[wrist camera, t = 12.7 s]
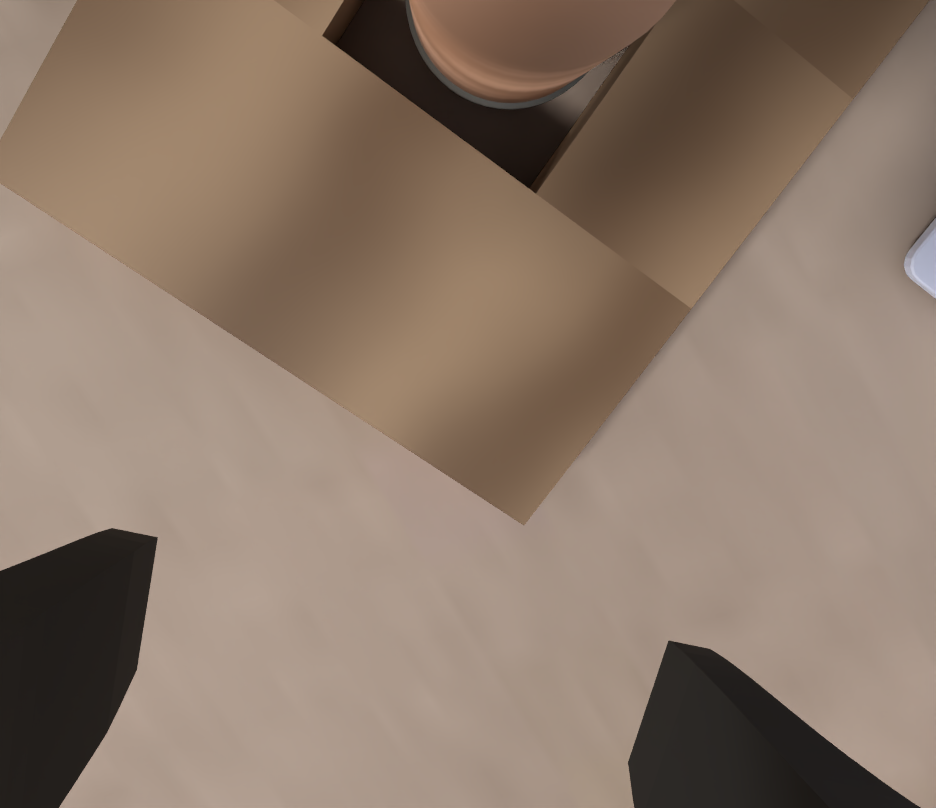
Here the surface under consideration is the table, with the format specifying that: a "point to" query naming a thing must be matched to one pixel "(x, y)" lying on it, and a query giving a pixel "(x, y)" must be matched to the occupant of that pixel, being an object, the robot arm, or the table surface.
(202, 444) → the table surface
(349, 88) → the board
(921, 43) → the table surface
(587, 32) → the peg
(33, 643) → the robot arm
